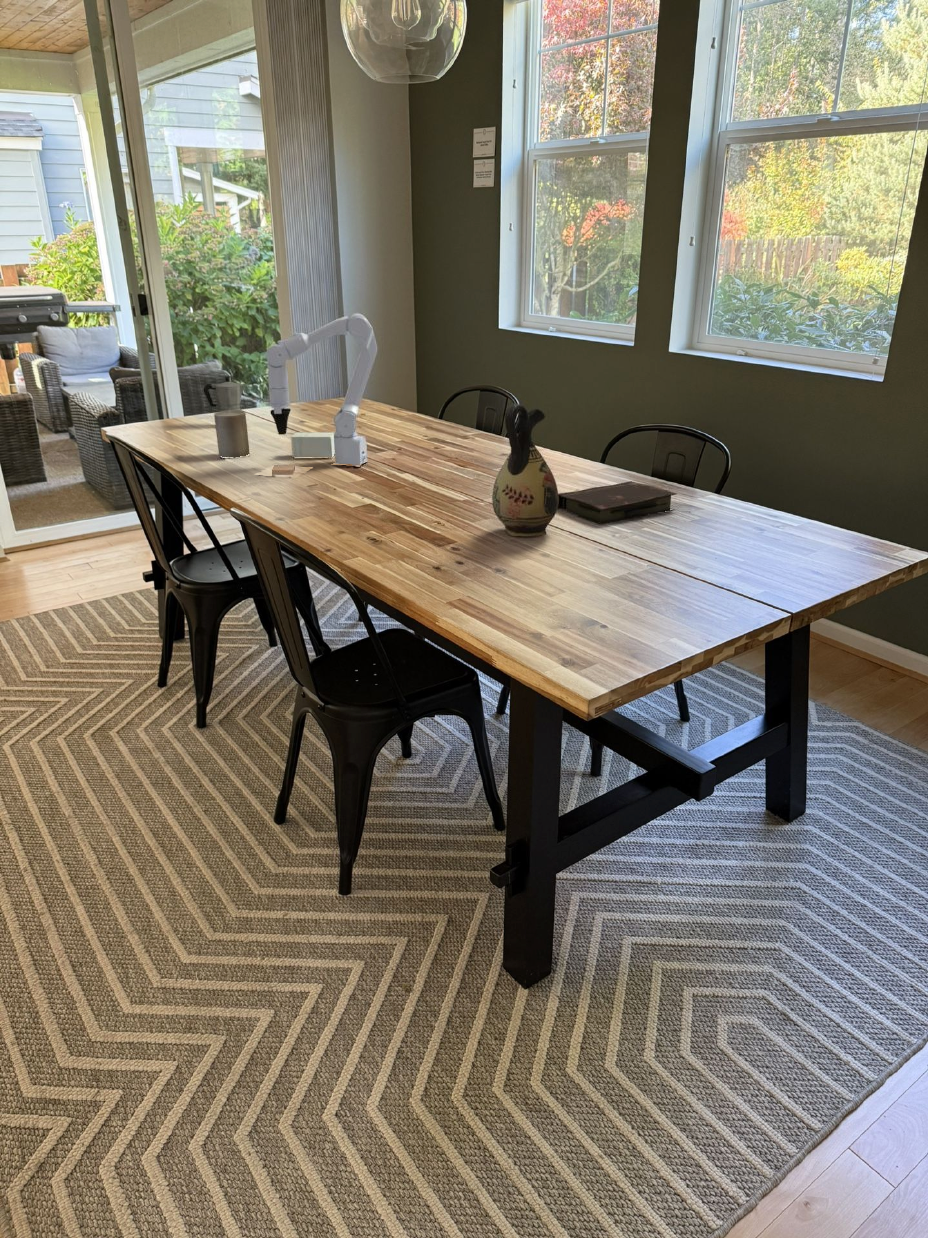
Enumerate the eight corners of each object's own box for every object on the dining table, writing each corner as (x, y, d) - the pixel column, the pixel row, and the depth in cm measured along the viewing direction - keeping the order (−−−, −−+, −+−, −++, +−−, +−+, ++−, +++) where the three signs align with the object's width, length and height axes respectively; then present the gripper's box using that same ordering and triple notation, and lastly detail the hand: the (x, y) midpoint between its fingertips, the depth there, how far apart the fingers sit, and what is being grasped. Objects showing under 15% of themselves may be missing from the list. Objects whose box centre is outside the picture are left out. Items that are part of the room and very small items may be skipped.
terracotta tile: (274, 465, 261) (271, 470, 255) (294, 465, 261) (292, 469, 256) (274, 471, 262) (272, 476, 256) (295, 471, 262) (293, 475, 256)
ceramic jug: (517, 518, 219) (520, 395, 207) (569, 530, 210) (576, 402, 198) (473, 534, 207) (474, 404, 195) (527, 548, 198) (532, 412, 186)
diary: (554, 510, 228) (555, 491, 226) (628, 497, 240) (629, 479, 238) (601, 528, 213) (602, 507, 211) (677, 512, 225) (679, 493, 224)
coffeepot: (250, 423, 333) (245, 374, 326) (250, 428, 325) (245, 377, 318) (208, 424, 330) (202, 375, 323) (207, 429, 322) (201, 378, 315)
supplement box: (292, 459, 277) (332, 459, 277) (290, 436, 274) (330, 436, 274) (297, 455, 284) (336, 455, 284) (295, 431, 281) (335, 431, 281)
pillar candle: (254, 453, 286) (249, 406, 280) (244, 459, 277) (239, 411, 271) (225, 452, 287) (219, 405, 281) (214, 459, 278) (208, 411, 272)
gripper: (267, 384, 266) (271, 429, 271) (261, 391, 253) (265, 439, 258) (291, 383, 267) (294, 429, 272) (286, 391, 253) (290, 438, 259)
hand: (282, 433), depth 265 cm, fingers closed
